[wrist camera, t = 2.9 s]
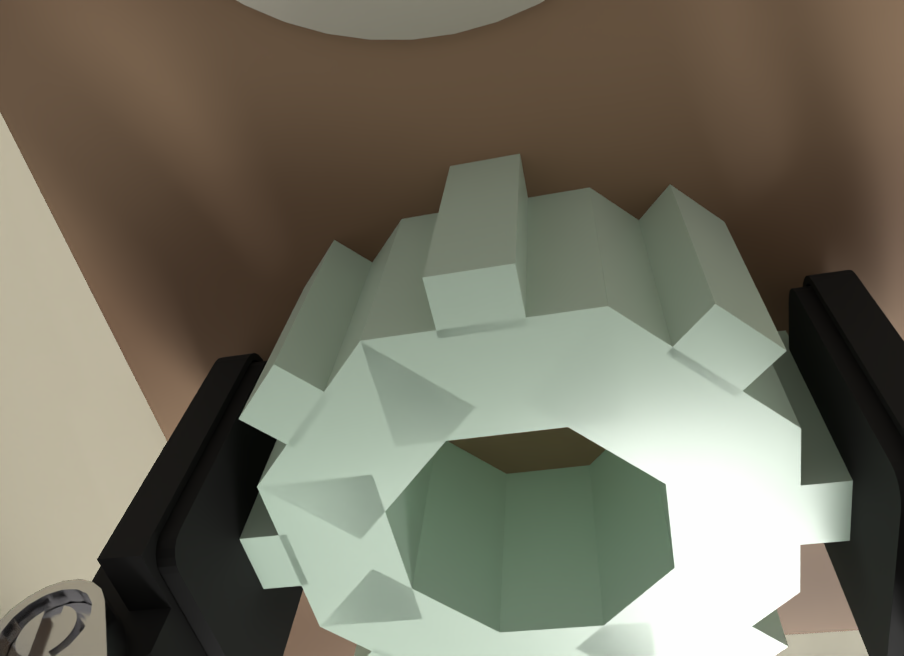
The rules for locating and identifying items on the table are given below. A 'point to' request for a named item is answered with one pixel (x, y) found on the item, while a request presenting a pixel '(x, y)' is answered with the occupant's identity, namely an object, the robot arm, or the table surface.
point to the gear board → (443, 158)
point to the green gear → (540, 408)
